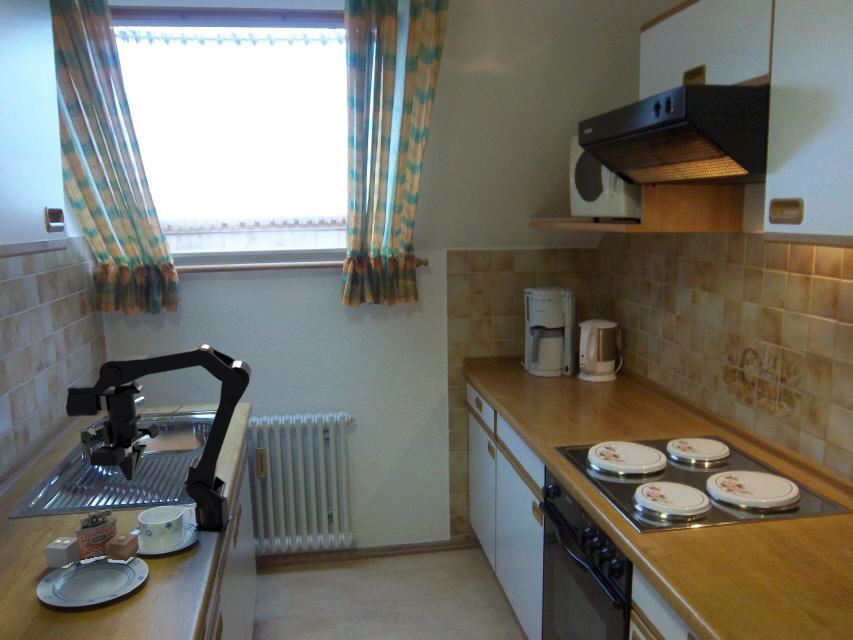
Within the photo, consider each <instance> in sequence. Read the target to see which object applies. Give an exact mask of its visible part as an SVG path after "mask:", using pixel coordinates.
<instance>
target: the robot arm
mask: <svg viewBox="0 0 853 640" xmlns="http://www.w3.org/2000/svg"><path fill="white" fill-rule="evenodd" d="M200 366H201V368H204V369H205V370H206V371H207V372H208V373H210V375H211V376H213V377H214V378H215V379H217V380H218V381H220V382H221V386H220V387H221V388H220V398H219V404H218V407H217V410H216V413H215V415H214V419H213V421H212V425H211V428H210V431H209V433H208V436H207V440H206V442H205V445H204V449H203V451H202V454H201V455H200V457H199V458H197V457H192V460H191V462H190V464H189V467H188V471H187V474H186V477H185V479H184V481H183V484H184V485H185V493H186V494H187V496H188V497H190V498H191V499H193V500H194V503H195V507H194V514H195V524H196V526H195V527H194V528H196V529H199V530H198V531H200V532H201V531H203V532H218V533H220V532H222V531H223V530H224V529H225V528H226V527H227V526H228V524H229V523H230V522H231V521H232V520H233V516H231V515H229V503H228V502H229V499H228V497H227V496H224V494H225V489H226V485H227V482H225V481H224V480H222V478H220V477H219V476H217V473H218V465H219V456H220V453H221V450H222V448H223V444H224V442H225V438H226V437H227V432H228V430H229V427H230V424H231V421H232V418H233V415H234V413H235V410H236V407H237V406H238V403H239V402H240V400H241V399H242V397H243V395H244V393H245V392H246V390H247V388H248V386H249V384H250V381H251V378H252V369H251V366H250V365H249V364H248V363H247V362H246V361H243V360H236V359H235V358H233V357H231V356H230V355H228V354H226V353H225V352H224V353H223V352H221V351H219V350H217V349H215V348H214V347H212V346H211V345H209V344H201V345H199V346H195V347H189V348H188V347H187V348H184V349H183V348H182V349H178V350H172V351H166V352H160V353H155V354H149V355H141V354H140V355H139V354H129V353H128V354H116V355H112V356H111V357H109V358H108V359H107V361H106V362H104V363H103V364H101V366H100V368H99V372H98V374H99V378H98V380H97V381H96V382H95V383H93V384H90V385H71V386H69V387H68V388H67V393H68V394H67V397H66V405H65V411H66V414H67V416H68V418H69V419H70V418H72V419H74V418H84V417H85V418H86V417H97V416H98V417H99V416H100V415H101V412H103V411H105V409H106V413H107V419H105V420H104V421H103V423H102V425H100V426H97V427H95V428H92V427H90V428H88V429H85V430H83V431H81V433H80V434H81V436H80V437H81V438H80V439H81V442H80V443H82V444H83V446H86V447H87V446H88V448H93V447H94V446H96V445H98V444H102V443H103V444H104V445H103V446H102V445H101V446H100V447H98V448H96V449H95V450H93V451H92V452H91V453H90V454H89V455H88V462H89V466H91V467H92V466H93V467H96V466H97V467H115V466H118V467H119V469H120V470H121V472H122V475H123V476H124V477H125V479H126V481H128V482H129V481H130V482H131V481H133V480H134V478H135V476H136V473H137V470H138V467H139V464H140V462H141V459H142V458H143V454H144V453H145V450H146V449H147V446H148V445H147V444H142V442H141V441H140V440H141V439H142V438H144V437H146V436H148V437H149V438H150V439H152V440H153V439H155V438H157V437H158V436H160V431H159V426H158V425H156V424H155V423H152V422H151V423H147V422H146V423H143V422H142V423H139V422H138V421H139V420H141V419H142V417H141V415H142V414H141V413H137V407H136V401H135V395H137V394H141V392H142V391H143V390H144V389H145V388H144V386H143V385H142V384H139V383H138V382H137V381H136V380H139V379H140V378H143V377H146V376H148V375H154V374H159V373H166V372H171V371H172V372H173V371H177V370H182V369H183V370H184V369H188V368H194V367H200ZM129 383H130V384H129ZM111 387H113V389H110V388H111ZM111 444H112V446H105V445H111Z"/></svg>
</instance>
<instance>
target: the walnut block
mask: <svg viewBox="0 0 853 640" xmlns="http://www.w3.org/2000/svg"><path fill="white" fill-rule="evenodd" d="M105 547H106V555H107V558H106V560H107V559H112V560H124V561H127V560H128V559H129V558H130V557H135V558H137V556H138V555H137V554H136V552H137V551H138V549H139V550H140V545H139V536H138V534H137V533H124V532H117V534H116V535H115V536H114V537H113V538H111V539H110V540H109V541H108V542H107V543H105Z"/></svg>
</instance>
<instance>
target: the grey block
mask: <svg viewBox="0 0 853 640" xmlns="http://www.w3.org/2000/svg"><path fill="white" fill-rule="evenodd" d="M44 551H45V559H46V565H47V568H53V569H61V568H60V567H63V566H66V565H69V564H70V563H72V562H75V561H76V562H78V561H79V559H78V558H79V551H78V543H77V537H73V536H72V537H70V536H59V537H57V538H55V540H53V541H51V543H49V544H48V545H47V546H45V547H44ZM76 562H75V563H76Z"/></svg>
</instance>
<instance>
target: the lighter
mask: <svg viewBox="0 0 853 640" xmlns="http://www.w3.org/2000/svg"><path fill="white" fill-rule="evenodd" d="M112 515H113V509H112V508H106V509H103V510H99V511H98V512H95V511H90V512H89V513H88V515H84V516H81V517H80V518H79V519H80V520H79V521H80V522H79V523H80V525H78V526H77V527H75V528H74V534H75V535H76V538H77V543H78V551H79V558H78V559H79V560H78V562H79V561H81V560H85V559H90V558H94V557H100V556H107V555H106V547H105V543H107V542H108V541H109V540H110V539H111V538H113V537H114V536H115V535H116V534H117V533H118V529H117V522H118V521H117V520H118V519H117V517H116V516H112Z"/></svg>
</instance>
